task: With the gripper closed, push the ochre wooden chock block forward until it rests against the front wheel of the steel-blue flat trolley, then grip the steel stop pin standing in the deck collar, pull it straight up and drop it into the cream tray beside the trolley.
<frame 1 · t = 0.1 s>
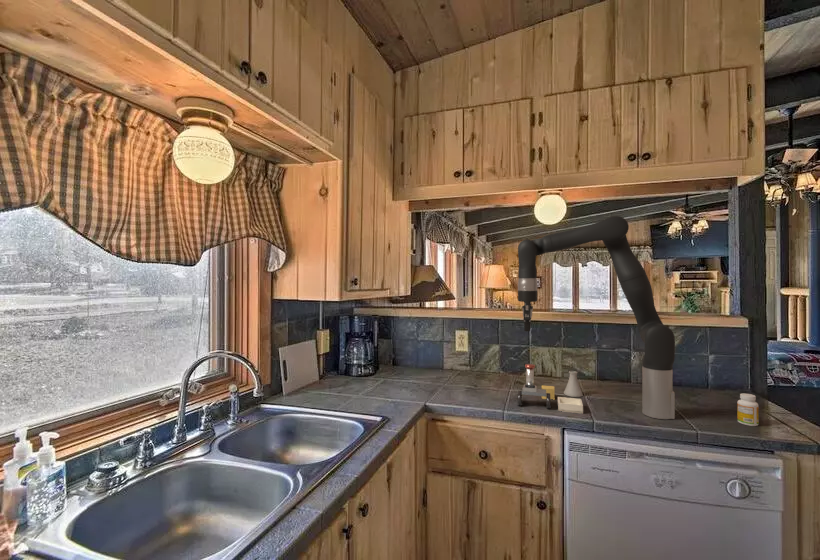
hand: (527, 329, 152), 29 cm above the table, tool pointing down, fingers open, 8 cm apart
tray: (569, 408, 144), on the table
chock: (548, 397, 158), on the table
supplement bottle: (747, 423, 130), on the table
trolley: (534, 405, 149), on the table
stop pin: (530, 390, 149), point 6 cm above the table, touching trolley
flask: (573, 395, 162), on the table
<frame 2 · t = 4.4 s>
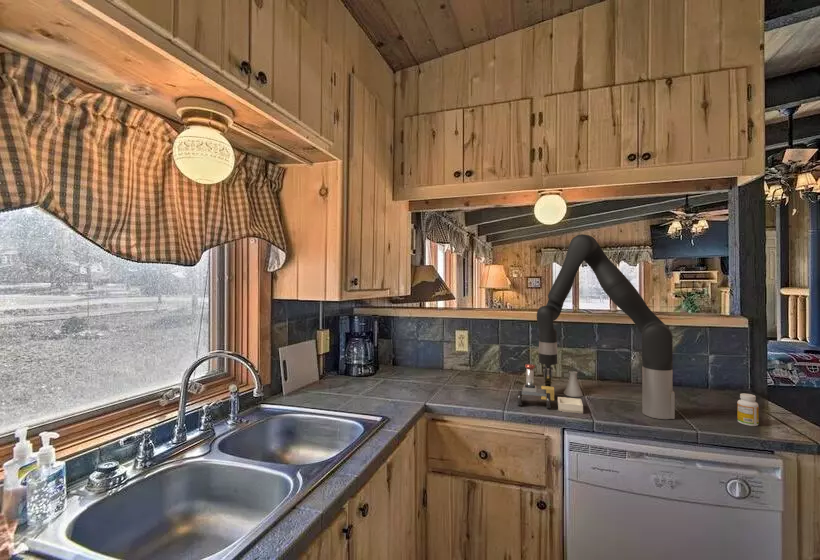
hand: (548, 392, 162), 1 cm above the table, tool pointing down, fingers closed
chock: (547, 398, 157), on the table, touching gripper
everything else where it was.
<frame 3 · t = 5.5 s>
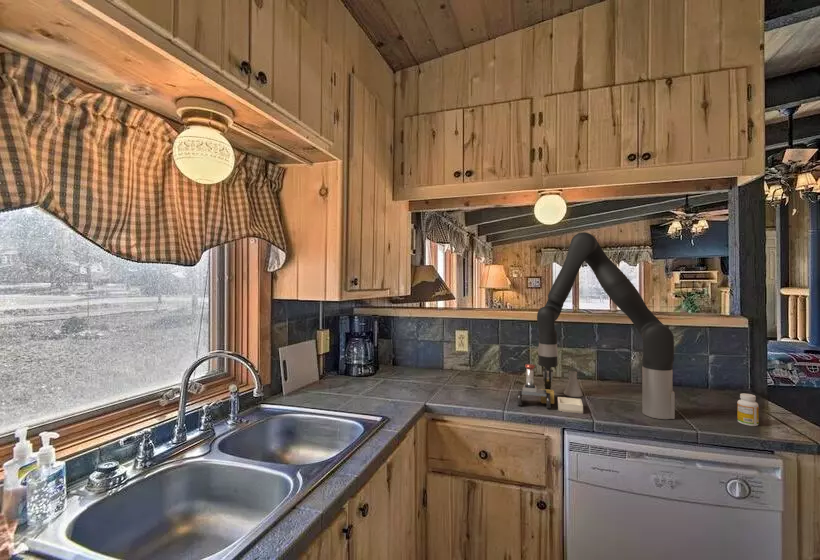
hand: (547, 395, 157), 1 cm above the table, tool pointing down, fingers closed
chock: (547, 401, 153), on the table, touching gripper, trolley
everything else where it was.
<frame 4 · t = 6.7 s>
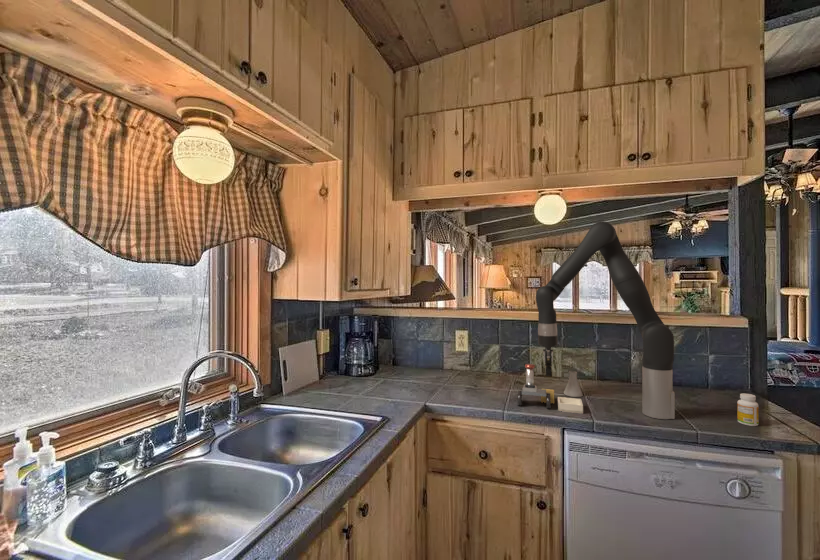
hand: (548, 375, 157), 9 cm above the table, tool pointing down, fingers closed
chock: (547, 401, 154), on the table
everything else where it was.
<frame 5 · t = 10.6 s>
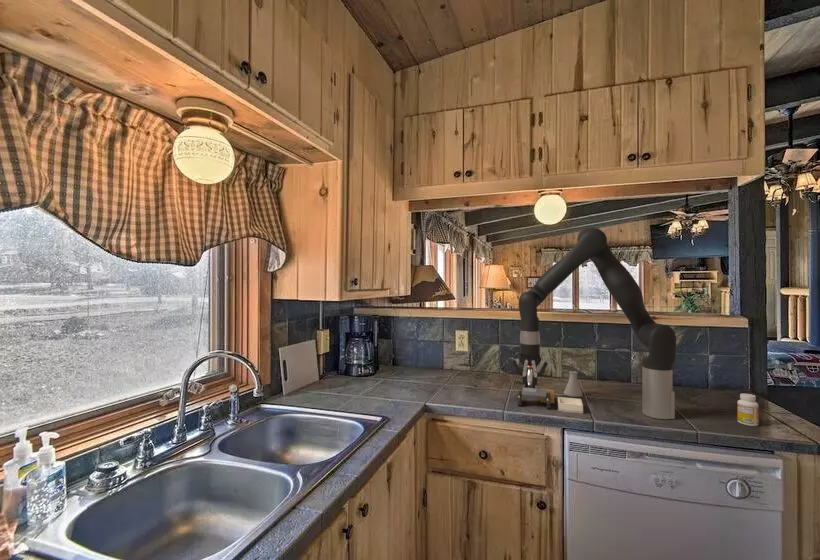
hand: (530, 385, 149), 8 cm above the table, tool pointing down, fingers closed on stop pin, 2 cm apart
stop pin: (529, 390, 149), point 6 cm above the table, touching gripper, trolley
everything else where it was.
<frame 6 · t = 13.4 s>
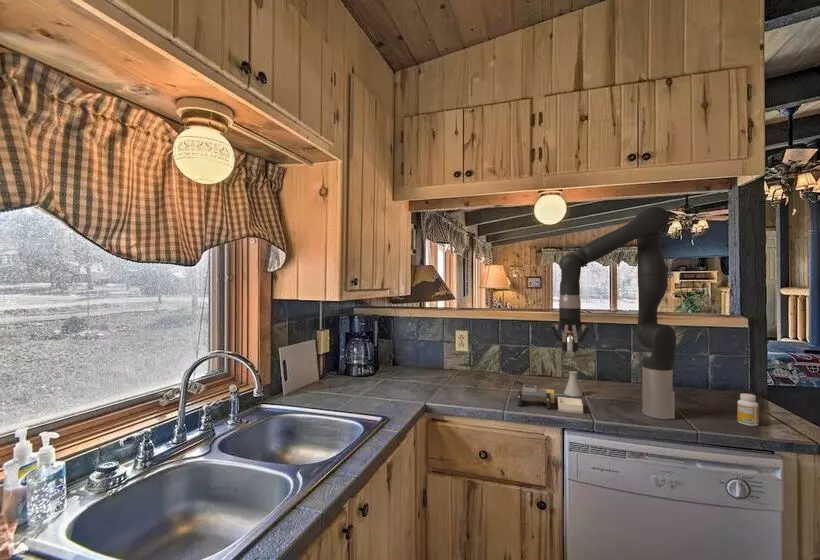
hand: (569, 351, 144), 22 cm above the table, tool pointing down, fingers closed on stop pin, 2 cm apart
stop pin: (569, 356, 144), point 20 cm above the table, touching gripper
everything else where it was.
when the fingers open (4 cm above the table, at t = 16.2 s): stop pin drops 1 cm, resting on tray.
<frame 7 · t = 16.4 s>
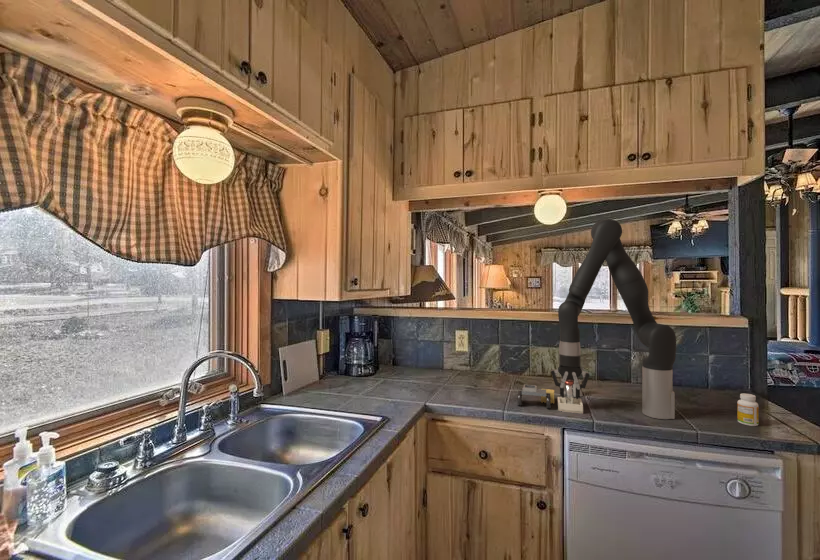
hand: (569, 397, 144), 4 cm above the table, tool pointing down, fingers open, 4 cm apart
stop pin: (569, 406, 144), point 1 cm above the table, touching tray
everything else where it was.
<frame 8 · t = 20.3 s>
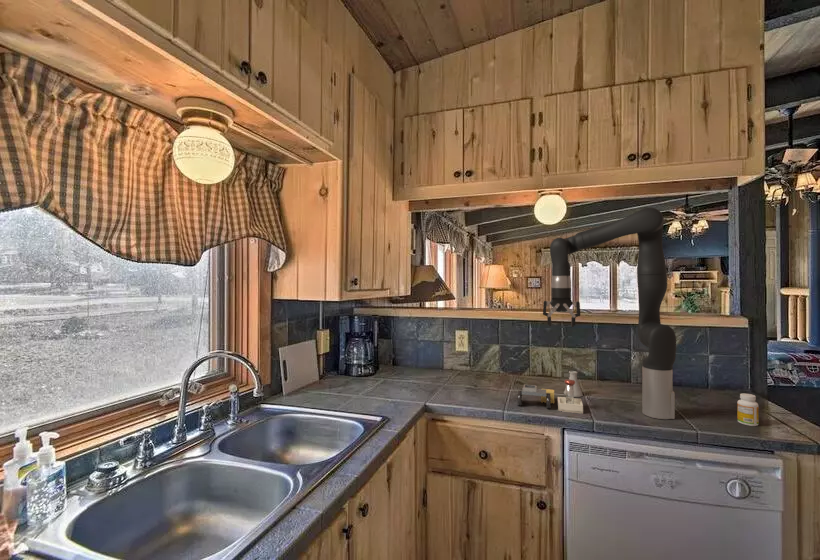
hand: (561, 326, 156), 30 cm above the table, tool pointing down, fingers open, 8 cm apart
nothing on the table moved.
at the end: chock 0.5 cm from the target spot, on the table; stop pin inside the target area on the tray (0.0 cm from its centre), point 0.8 cm above the tray's base; the gripper is holding nothing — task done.
